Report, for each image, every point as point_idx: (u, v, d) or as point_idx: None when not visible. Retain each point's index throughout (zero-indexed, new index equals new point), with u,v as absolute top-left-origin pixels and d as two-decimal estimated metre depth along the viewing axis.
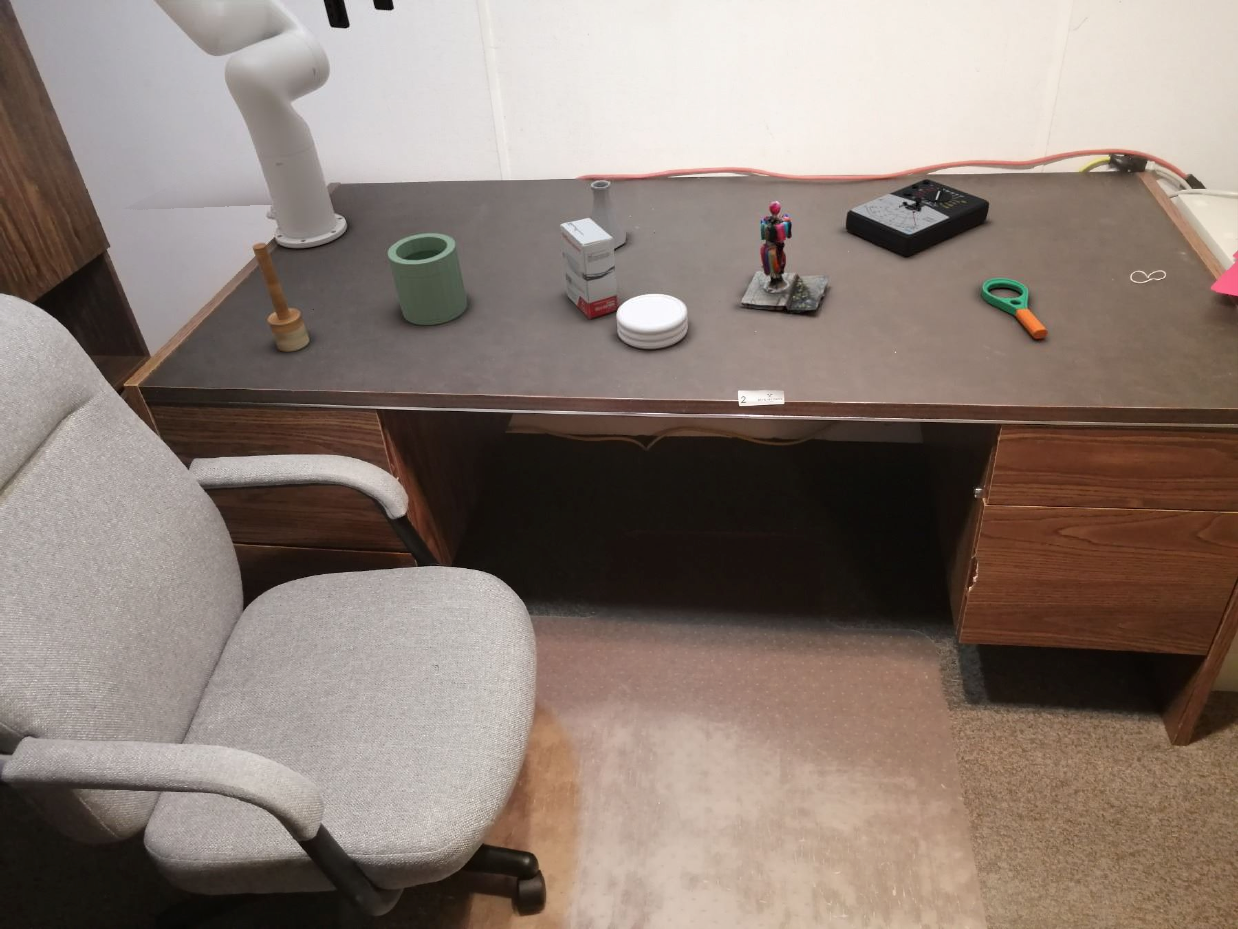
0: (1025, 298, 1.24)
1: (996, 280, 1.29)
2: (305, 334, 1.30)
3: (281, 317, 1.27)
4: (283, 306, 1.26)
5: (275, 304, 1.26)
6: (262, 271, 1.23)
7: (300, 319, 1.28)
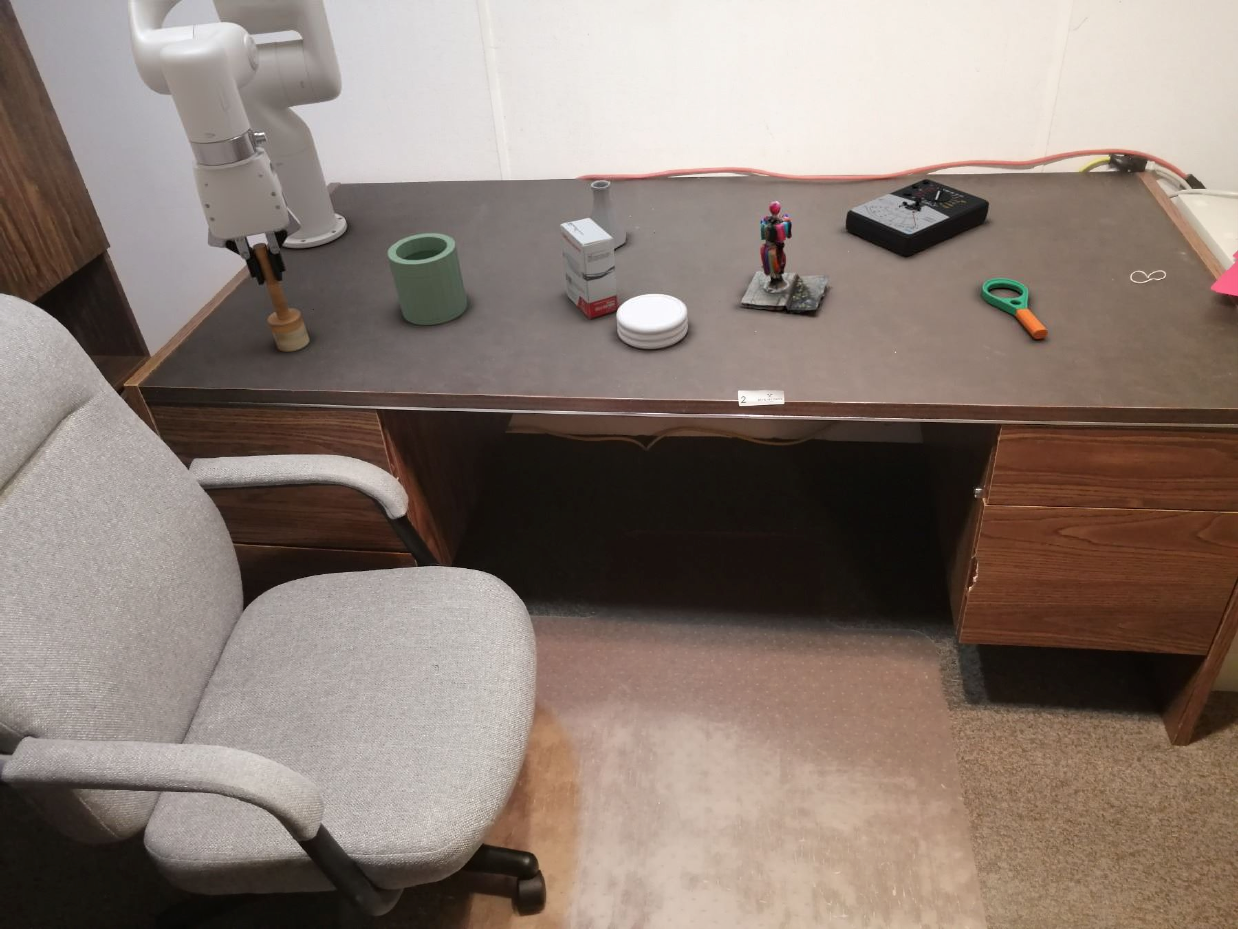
0: (1025, 298, 1.24)
1: (996, 280, 1.29)
2: (305, 334, 1.30)
3: (281, 317, 1.27)
4: (283, 306, 1.26)
5: (275, 304, 1.26)
6: (262, 271, 1.23)
7: (300, 319, 1.28)
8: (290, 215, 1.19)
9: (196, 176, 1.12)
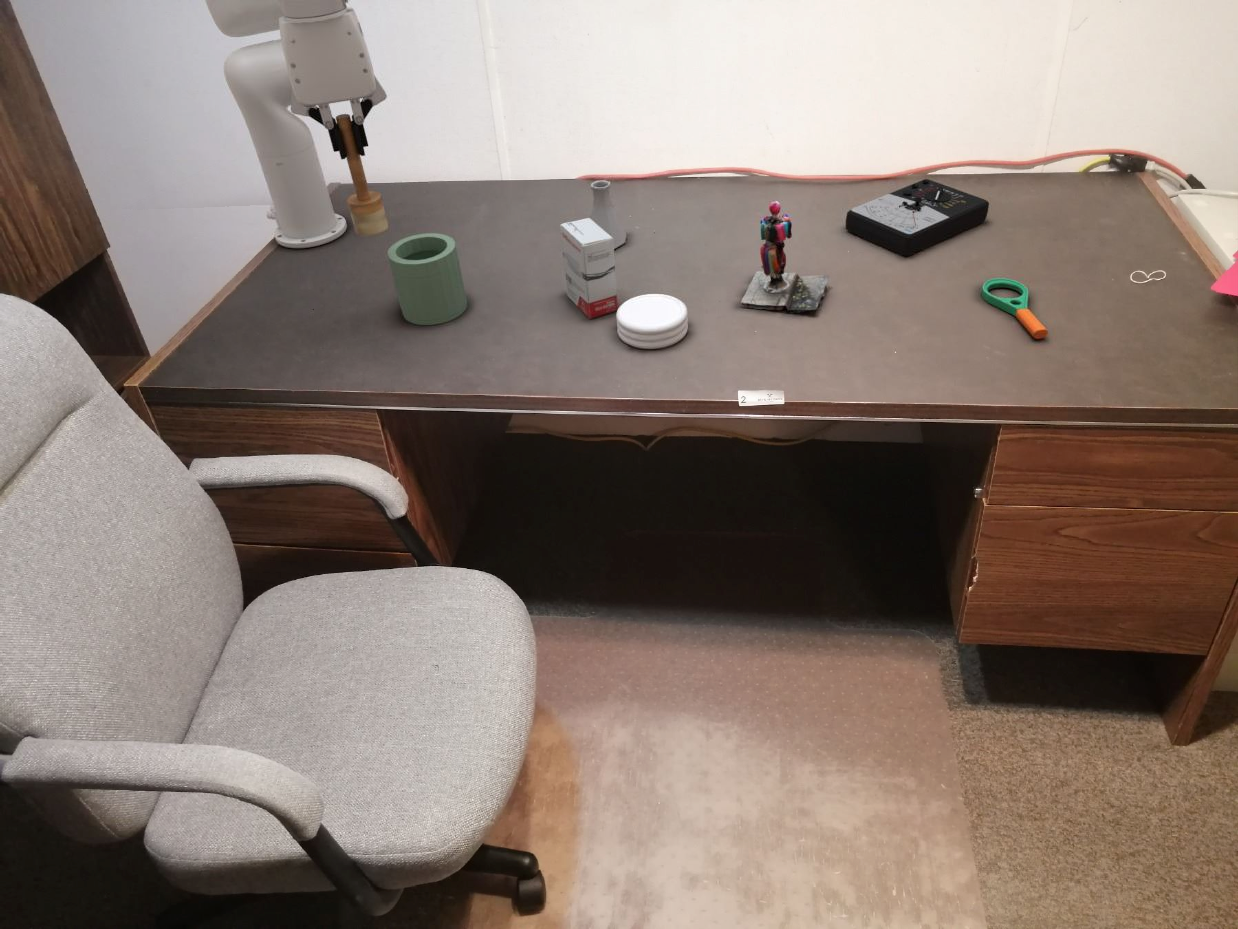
0: (1025, 298, 1.24)
1: (996, 280, 1.29)
2: (385, 218, 1.24)
3: (361, 197, 1.21)
4: (364, 185, 1.21)
5: (356, 183, 1.20)
6: (344, 145, 1.17)
7: (380, 201, 1.22)
8: (376, 82, 1.14)
9: (283, 31, 1.06)
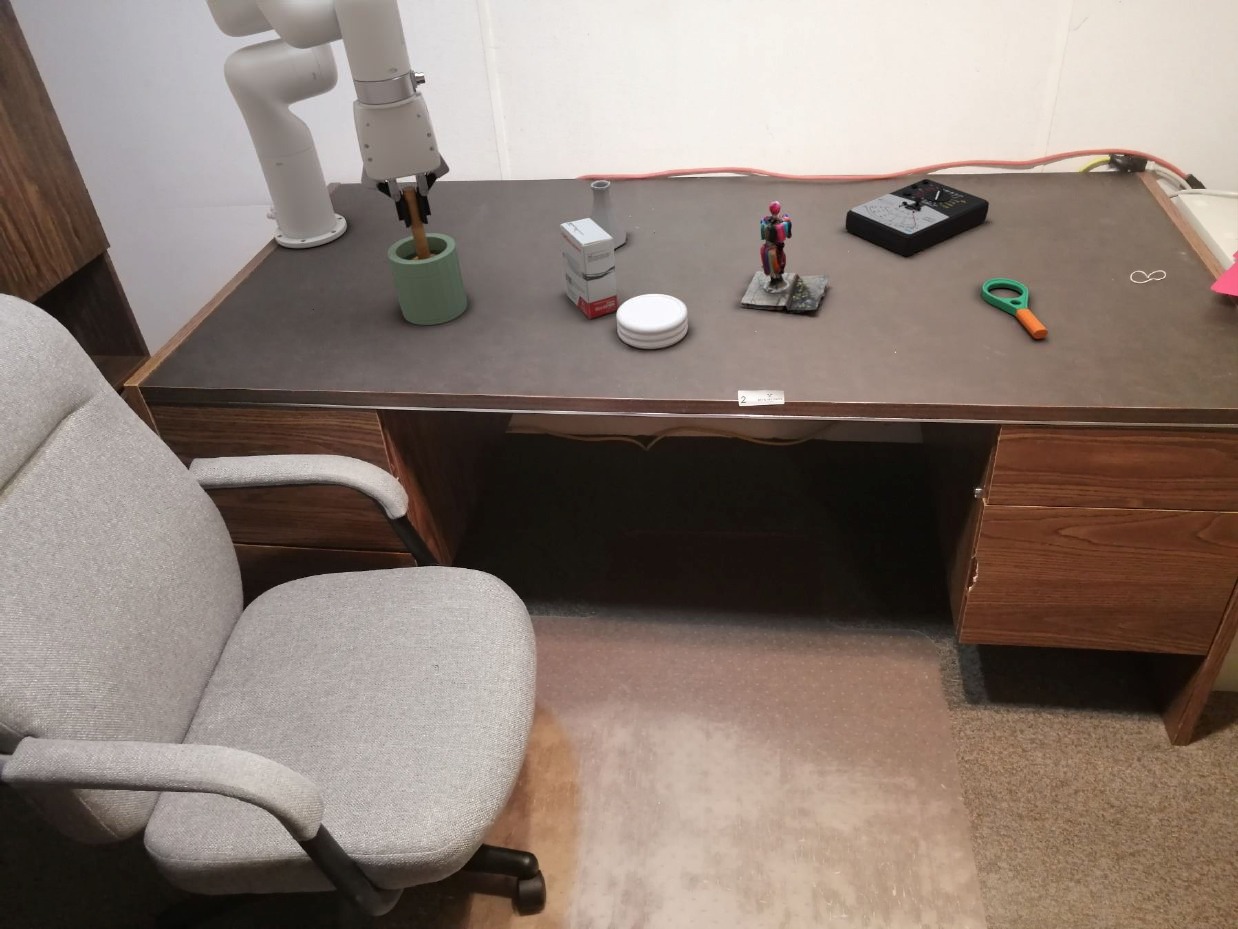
0: (1025, 298, 1.24)
1: (996, 280, 1.29)
2: None
3: None
4: (426, 250, 1.29)
5: (418, 248, 1.29)
6: (409, 214, 1.25)
7: None
8: (440, 157, 1.22)
9: (358, 116, 1.15)
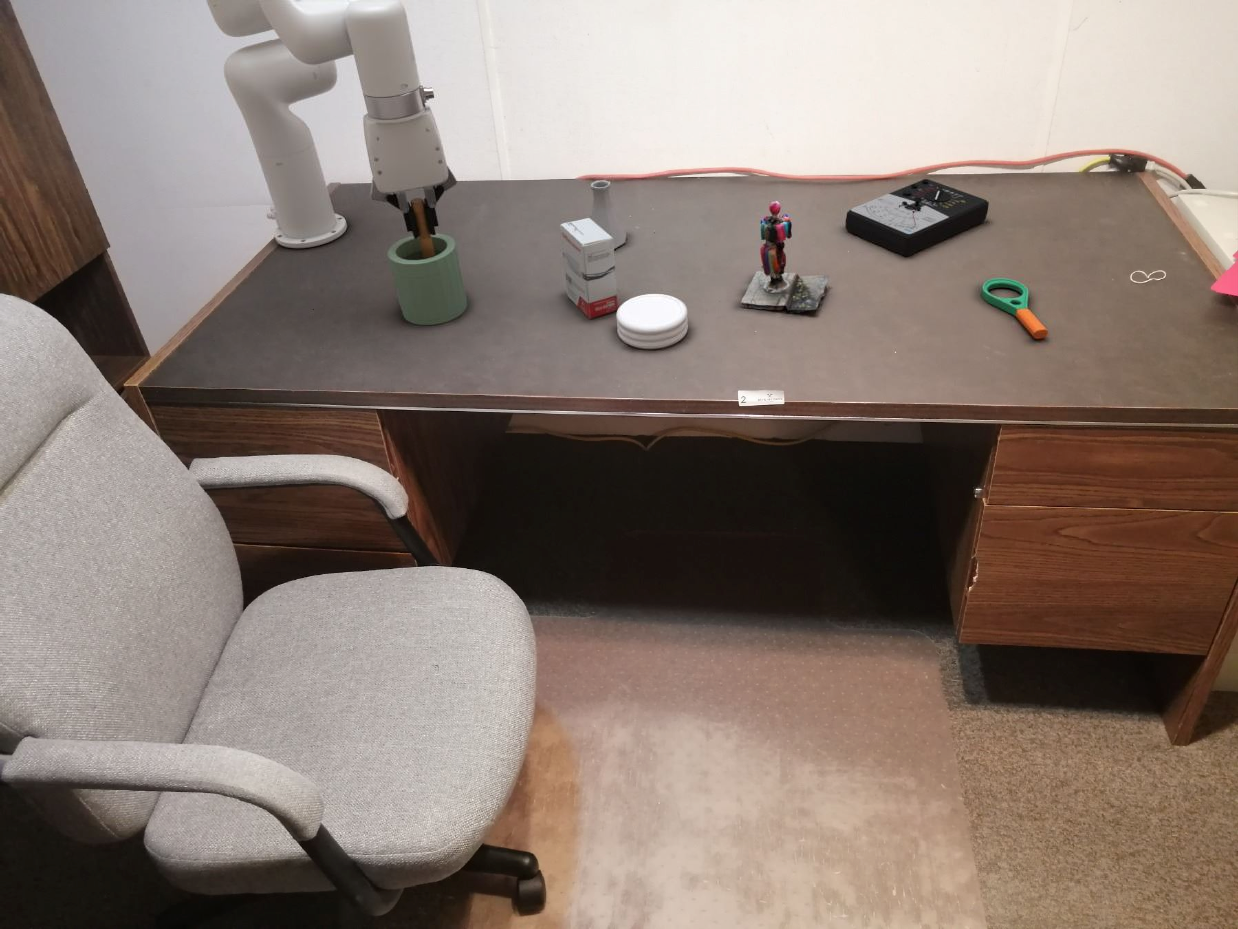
0: (1025, 298, 1.24)
1: (996, 280, 1.29)
2: None
3: None
4: None
5: (426, 258, 1.31)
6: (417, 225, 1.28)
7: None
8: (448, 170, 1.24)
9: (368, 130, 1.17)
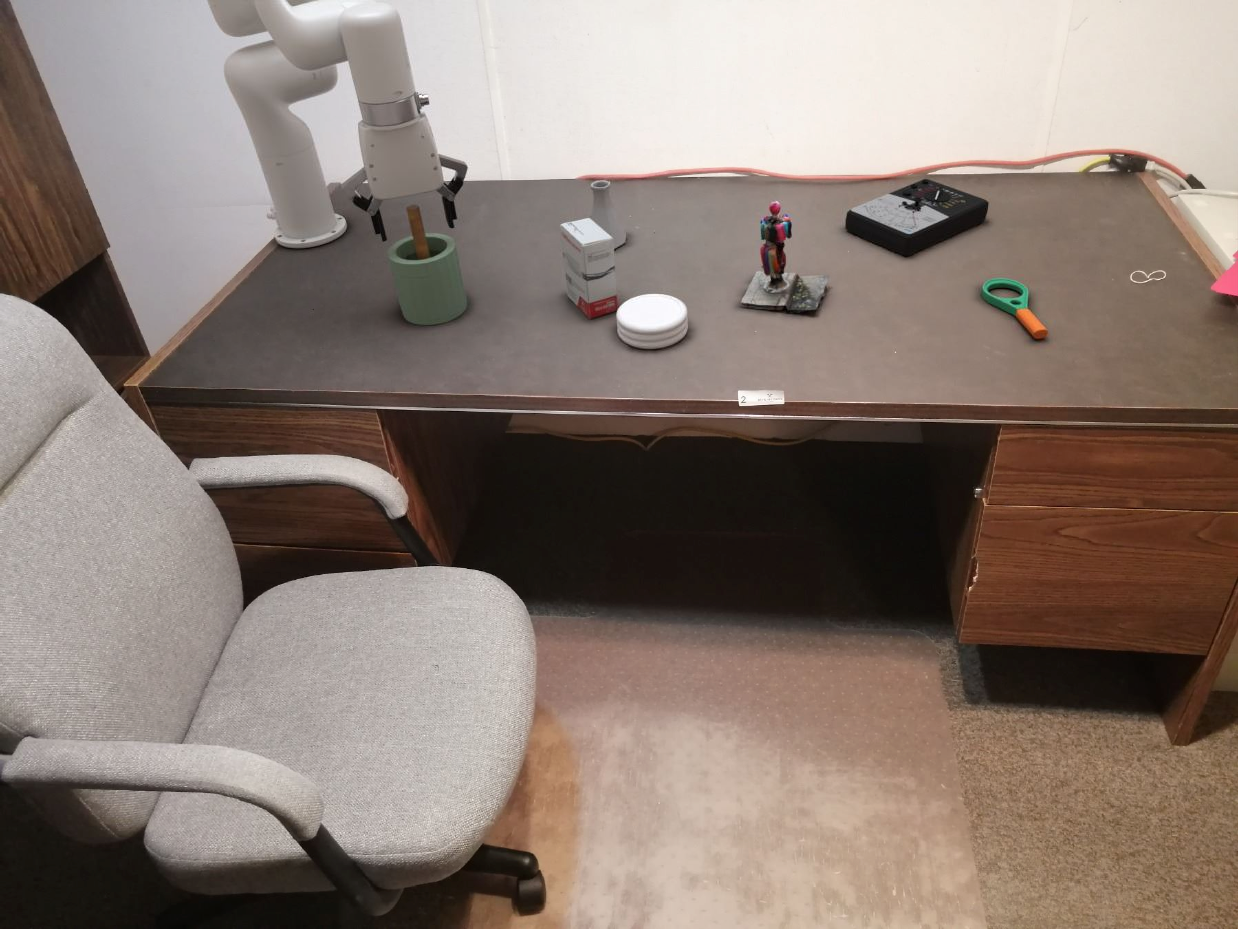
0: (1025, 298, 1.24)
1: (996, 280, 1.29)
2: None
3: None
4: None
5: None
6: (413, 232, 1.27)
7: None
8: (453, 162, 1.23)
9: (363, 137, 1.17)
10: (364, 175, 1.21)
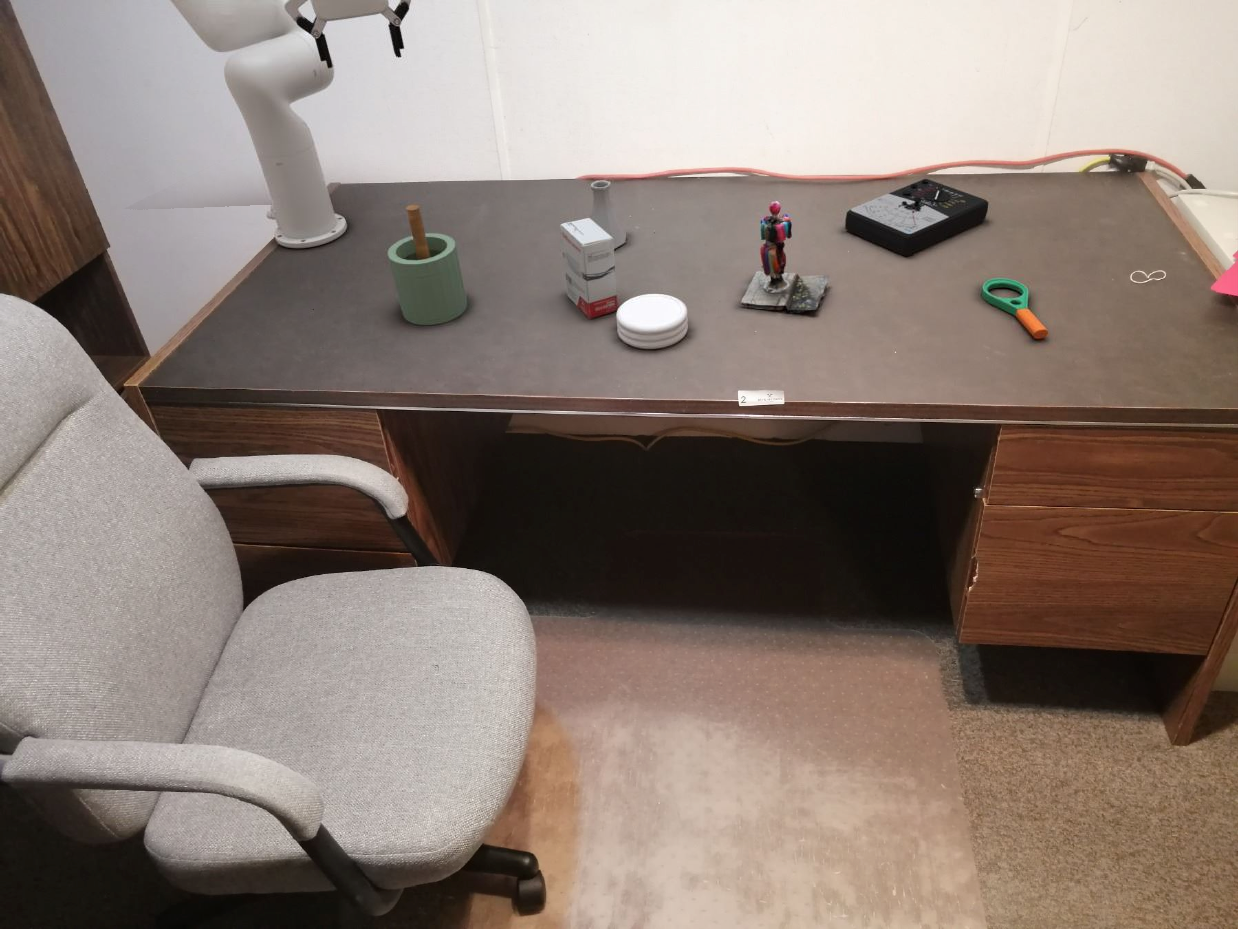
0: (1025, 298, 1.24)
1: (996, 280, 1.29)
2: None
3: None
4: None
5: None
6: (413, 232, 1.27)
7: None
8: None
9: None
10: None
